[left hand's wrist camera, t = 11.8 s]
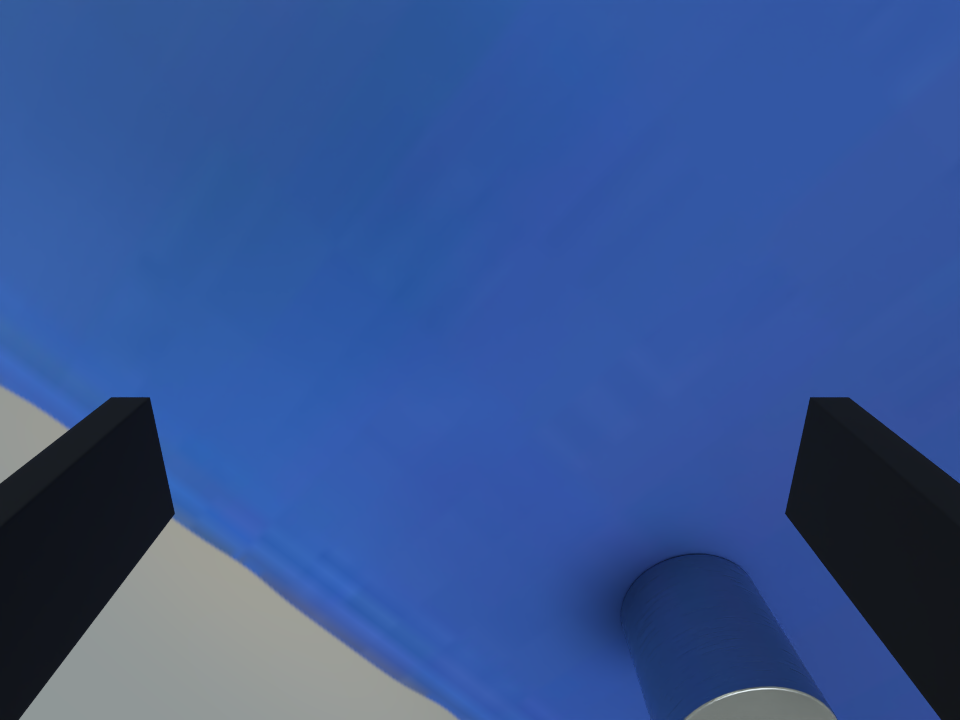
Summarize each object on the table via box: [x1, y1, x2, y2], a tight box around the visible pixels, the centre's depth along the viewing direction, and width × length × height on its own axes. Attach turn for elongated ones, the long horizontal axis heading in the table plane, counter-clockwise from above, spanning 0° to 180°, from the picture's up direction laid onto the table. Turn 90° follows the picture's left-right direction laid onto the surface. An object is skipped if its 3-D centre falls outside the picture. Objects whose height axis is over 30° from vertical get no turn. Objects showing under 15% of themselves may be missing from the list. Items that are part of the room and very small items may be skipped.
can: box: [621, 554, 837, 720], centre depth 30 cm, size 8×8×8 cm
